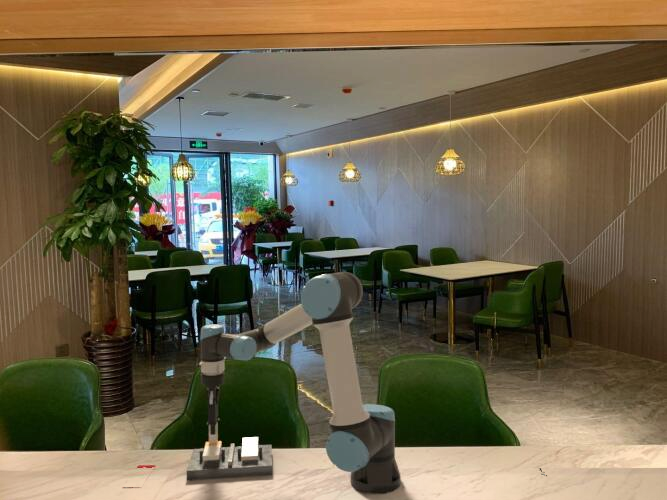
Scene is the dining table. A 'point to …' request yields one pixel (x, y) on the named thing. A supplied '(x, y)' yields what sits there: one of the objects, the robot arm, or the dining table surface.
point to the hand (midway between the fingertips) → (213, 442)
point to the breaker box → (230, 464)
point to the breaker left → (212, 451)
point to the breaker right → (250, 448)
